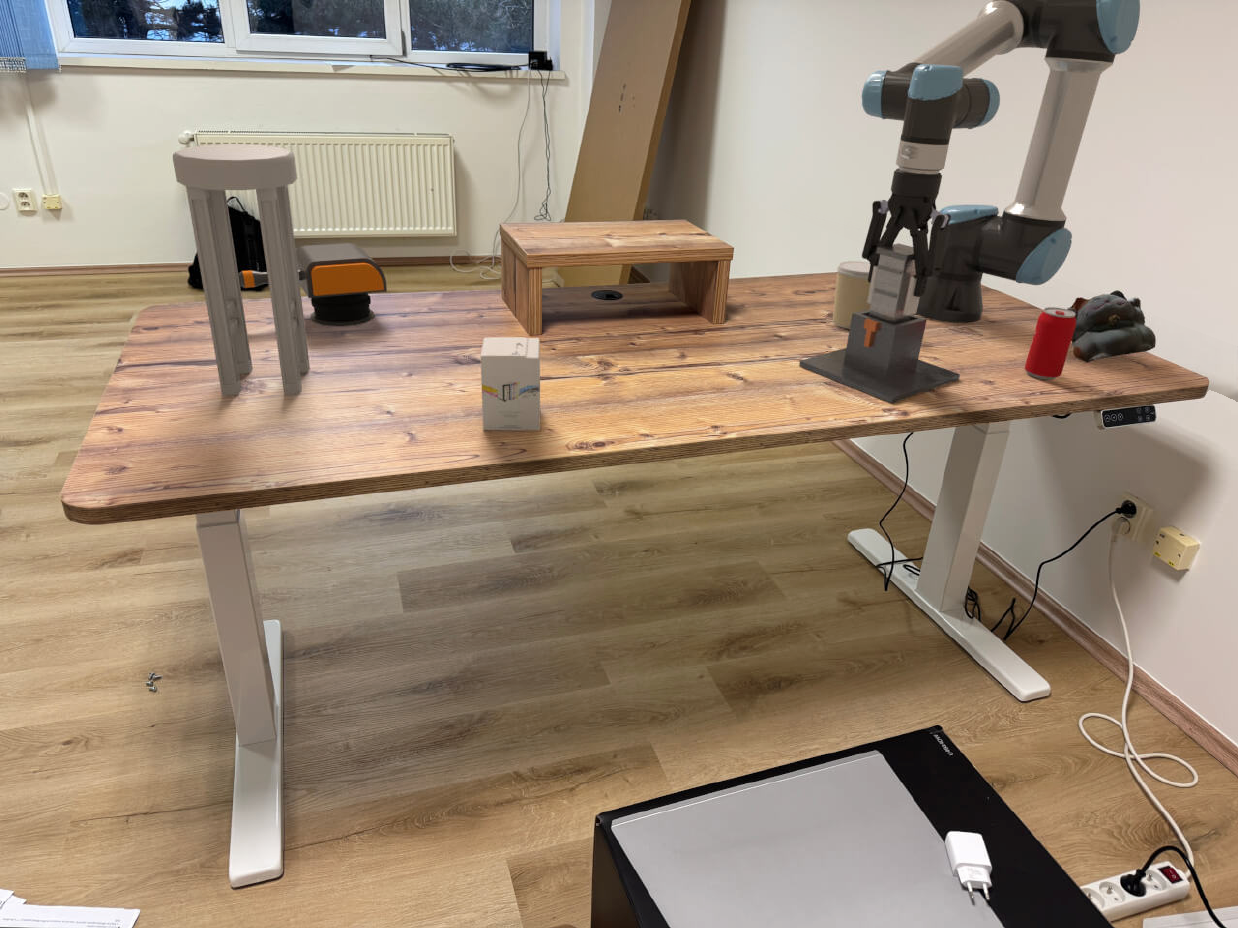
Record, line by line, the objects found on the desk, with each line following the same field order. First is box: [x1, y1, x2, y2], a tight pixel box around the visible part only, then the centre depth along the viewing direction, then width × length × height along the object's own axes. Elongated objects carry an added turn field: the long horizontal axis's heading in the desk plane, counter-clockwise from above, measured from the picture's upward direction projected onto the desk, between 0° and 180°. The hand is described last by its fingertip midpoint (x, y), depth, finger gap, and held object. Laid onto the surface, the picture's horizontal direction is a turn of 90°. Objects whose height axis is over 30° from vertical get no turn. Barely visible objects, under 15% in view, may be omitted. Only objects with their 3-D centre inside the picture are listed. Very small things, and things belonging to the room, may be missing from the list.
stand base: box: [798, 309, 961, 404], centre depth 154 cm, size 20×20×10 cm
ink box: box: [480, 336, 541, 431], centre depth 128 cm, size 9×8×12 cm
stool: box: [172, 143, 311, 397], centre depth 131 cm, size 16×16×35 cm
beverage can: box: [1024, 306, 1076, 380], centre depth 157 cm, size 6×6×12 cm
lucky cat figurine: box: [1066, 289, 1157, 363], centre depth 169 cm, size 15×12×14 cm
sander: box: [238, 242, 388, 328], centre depth 164 cm, size 15×25×13 cm, turn 117°
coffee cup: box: [832, 260, 871, 330], centre depth 178 cm, size 9×9×12 cm
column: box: [869, 242, 916, 325], centre depth 151 cm, size 6×6×21 cm
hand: (891, 307), depth 151 cm, fingers open, 7 cm apart
